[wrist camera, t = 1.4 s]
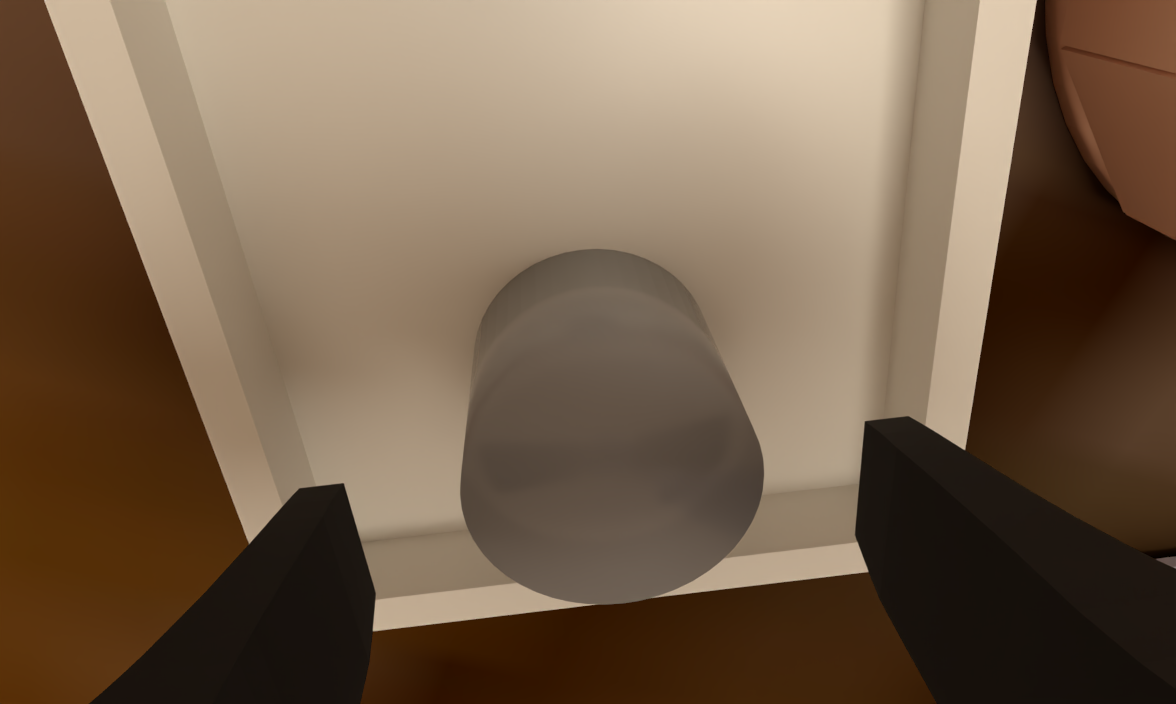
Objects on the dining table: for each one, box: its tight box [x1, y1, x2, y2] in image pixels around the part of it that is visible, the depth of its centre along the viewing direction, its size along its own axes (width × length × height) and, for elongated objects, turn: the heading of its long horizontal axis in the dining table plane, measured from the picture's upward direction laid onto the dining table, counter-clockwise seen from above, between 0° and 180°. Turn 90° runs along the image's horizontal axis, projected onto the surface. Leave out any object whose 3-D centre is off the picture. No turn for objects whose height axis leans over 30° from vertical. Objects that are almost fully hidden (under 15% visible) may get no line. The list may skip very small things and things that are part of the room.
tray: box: [44, 0, 1037, 631], centre depth 13 cm, size 18×13×2 cm
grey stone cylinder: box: [460, 249, 764, 605], centre depth 14 cm, size 4×4×4 cm
